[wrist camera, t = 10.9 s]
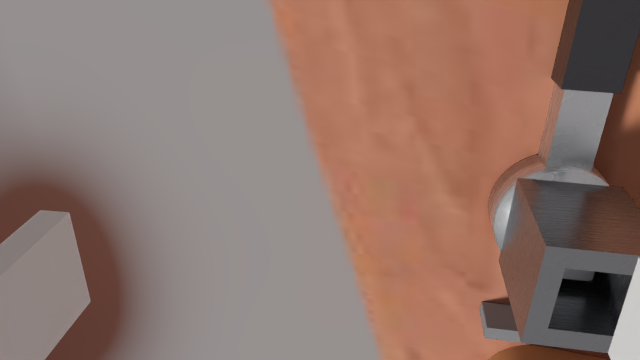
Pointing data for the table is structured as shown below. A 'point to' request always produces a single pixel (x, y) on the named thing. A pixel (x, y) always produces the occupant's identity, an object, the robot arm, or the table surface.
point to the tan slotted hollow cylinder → (539, 354)
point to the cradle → (498, 322)
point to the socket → (569, 261)
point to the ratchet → (576, 103)
